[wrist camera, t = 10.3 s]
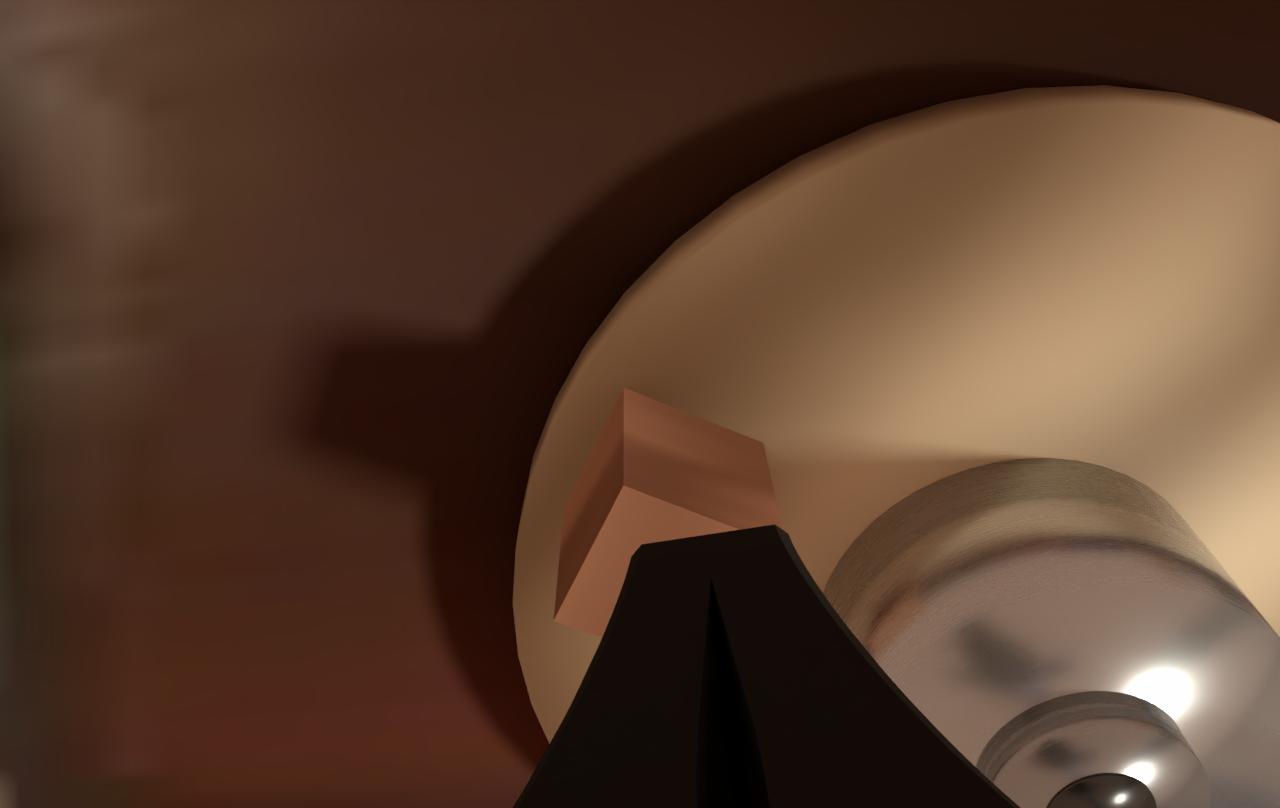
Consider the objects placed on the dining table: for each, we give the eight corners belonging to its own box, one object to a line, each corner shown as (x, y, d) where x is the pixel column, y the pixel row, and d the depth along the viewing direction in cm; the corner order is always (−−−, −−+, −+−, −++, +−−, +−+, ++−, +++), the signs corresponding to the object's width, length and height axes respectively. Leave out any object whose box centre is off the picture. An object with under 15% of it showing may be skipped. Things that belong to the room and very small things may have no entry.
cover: (1290, 547, 19) (1458, 727, 16) (1056, 812, 22) (1148, 1021, 18) (948, 395, 18) (1038, 552, 14) (745, 699, 21) (774, 900, 17)
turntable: (1730, 351, 19) (1999, 478, 15) (1114, 983, 27) (1193, 1172, 23) (800, -128, 16) (855, -114, 12) (388, 756, 23) (341, 936, 19)
